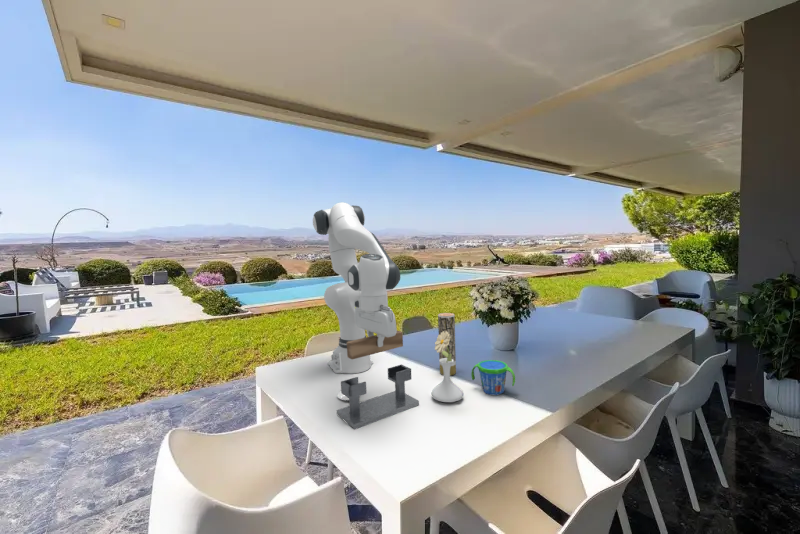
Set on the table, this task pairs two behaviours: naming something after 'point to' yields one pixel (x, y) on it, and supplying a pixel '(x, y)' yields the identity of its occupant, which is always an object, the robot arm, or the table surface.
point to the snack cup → (493, 376)
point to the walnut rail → (372, 345)
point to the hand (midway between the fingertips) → (376, 344)
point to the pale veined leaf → (340, 395)
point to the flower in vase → (446, 374)
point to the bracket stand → (376, 399)
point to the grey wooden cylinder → (448, 324)
